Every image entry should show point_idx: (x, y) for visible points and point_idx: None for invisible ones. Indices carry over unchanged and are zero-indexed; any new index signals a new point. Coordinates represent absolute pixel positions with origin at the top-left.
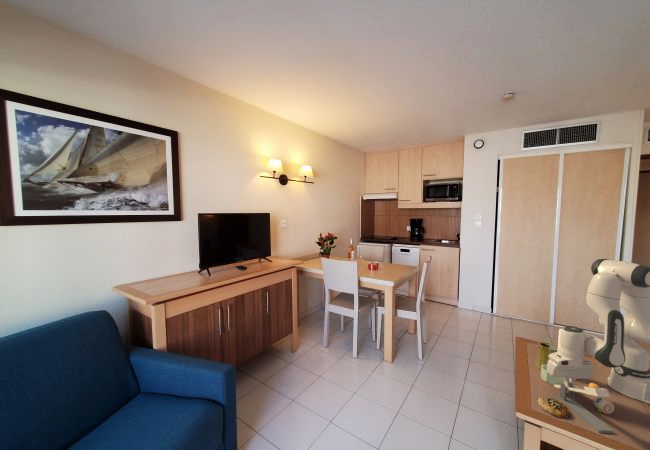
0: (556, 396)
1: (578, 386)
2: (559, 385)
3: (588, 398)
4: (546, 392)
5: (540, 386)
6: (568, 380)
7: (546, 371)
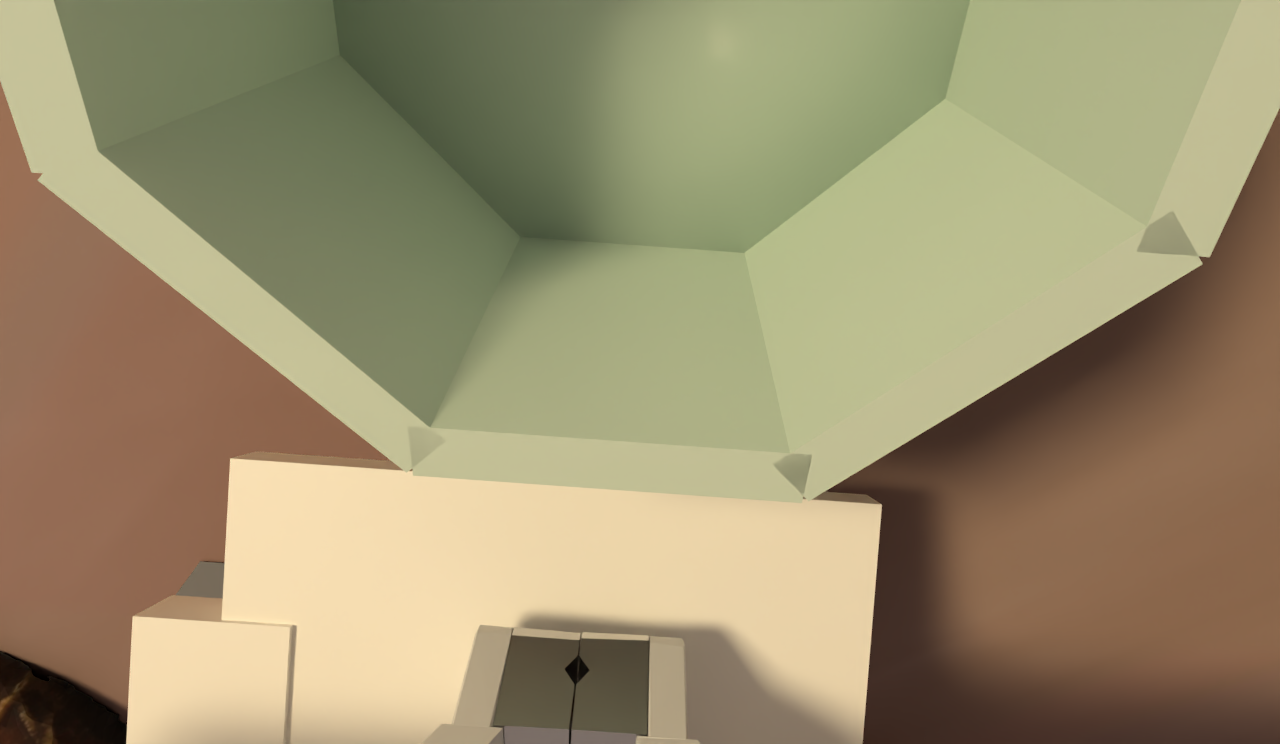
0: (191, 584)
1: (825, 740)
2: (236, 676)
3: (918, 616)
4: (60, 439)
5: (12, 230)
6: (628, 731)
7: (21, 101)
